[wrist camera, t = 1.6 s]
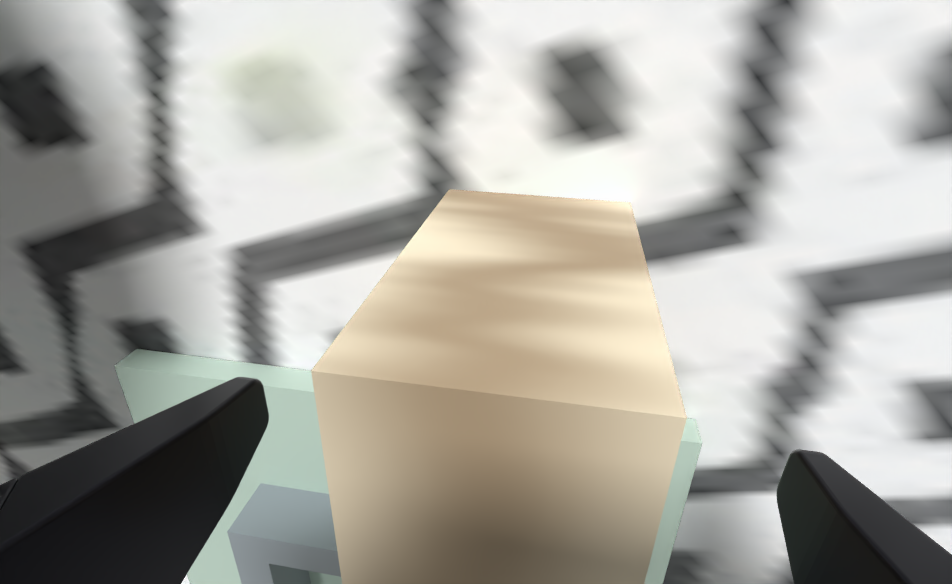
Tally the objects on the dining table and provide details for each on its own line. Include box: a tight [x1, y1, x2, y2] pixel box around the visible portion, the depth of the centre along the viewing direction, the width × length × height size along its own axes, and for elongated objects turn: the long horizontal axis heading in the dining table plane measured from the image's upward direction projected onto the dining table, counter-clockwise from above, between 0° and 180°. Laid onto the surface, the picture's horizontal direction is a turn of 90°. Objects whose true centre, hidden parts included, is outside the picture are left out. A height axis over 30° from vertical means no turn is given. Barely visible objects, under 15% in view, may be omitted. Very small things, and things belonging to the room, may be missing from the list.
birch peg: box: [311, 189, 687, 584], centre depth 11 cm, size 4×4×8 cm
